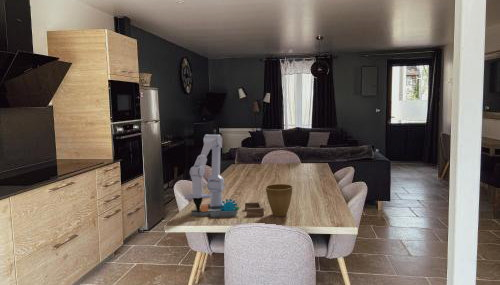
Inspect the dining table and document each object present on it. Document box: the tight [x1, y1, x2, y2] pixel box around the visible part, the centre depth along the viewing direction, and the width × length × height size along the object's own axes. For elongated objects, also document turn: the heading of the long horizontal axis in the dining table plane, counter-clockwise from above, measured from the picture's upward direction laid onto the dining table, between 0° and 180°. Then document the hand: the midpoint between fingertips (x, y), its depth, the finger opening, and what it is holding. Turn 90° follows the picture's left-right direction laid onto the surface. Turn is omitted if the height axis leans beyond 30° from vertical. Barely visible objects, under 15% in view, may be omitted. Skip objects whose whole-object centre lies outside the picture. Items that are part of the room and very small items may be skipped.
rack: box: [244, 201, 265, 217], centre depth 215 cm, size 14×10×4 cm
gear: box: [220, 198, 240, 213], centre depth 215 cm, size 11×6×10 cm
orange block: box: [200, 203, 221, 212], centre depth 213 cm, size 4×11×5 cm, turn 95°
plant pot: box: [265, 183, 293, 217], centre depth 209 cm, size 15×15×16 cm
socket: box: [190, 204, 237, 219], centre depth 213 cm, size 14×25×3 cm, turn 95°
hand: (198, 211), depth 212 cm, fingers closed
